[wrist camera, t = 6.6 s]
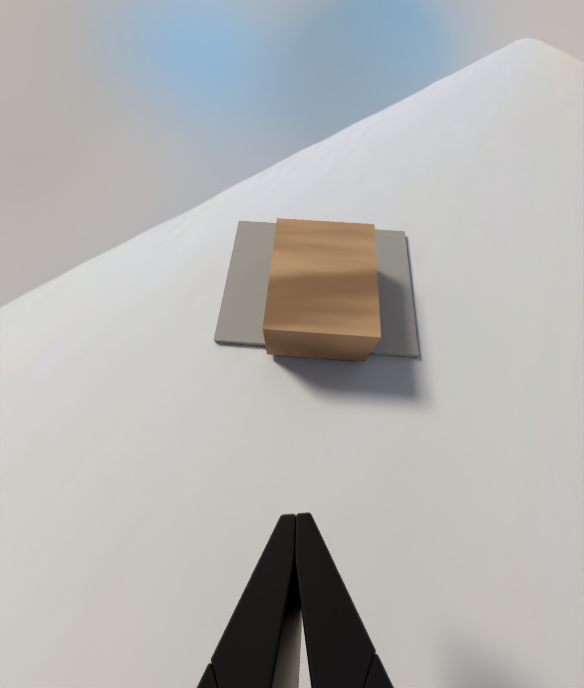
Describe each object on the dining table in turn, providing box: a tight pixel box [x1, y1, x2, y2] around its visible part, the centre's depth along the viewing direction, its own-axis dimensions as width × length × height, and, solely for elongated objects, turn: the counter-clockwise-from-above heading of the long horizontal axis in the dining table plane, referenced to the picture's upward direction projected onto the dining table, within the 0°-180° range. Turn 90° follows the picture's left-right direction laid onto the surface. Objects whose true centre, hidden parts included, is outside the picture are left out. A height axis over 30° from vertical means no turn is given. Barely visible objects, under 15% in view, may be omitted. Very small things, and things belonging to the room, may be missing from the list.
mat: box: [214, 221, 419, 357], centre depth 23 cm, size 12×15×1 cm
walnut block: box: [262, 218, 381, 361], centre depth 20 cm, size 4×7×9 cm
